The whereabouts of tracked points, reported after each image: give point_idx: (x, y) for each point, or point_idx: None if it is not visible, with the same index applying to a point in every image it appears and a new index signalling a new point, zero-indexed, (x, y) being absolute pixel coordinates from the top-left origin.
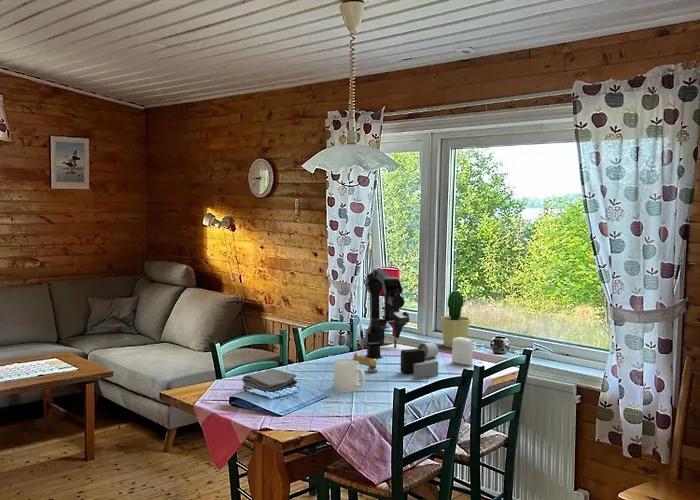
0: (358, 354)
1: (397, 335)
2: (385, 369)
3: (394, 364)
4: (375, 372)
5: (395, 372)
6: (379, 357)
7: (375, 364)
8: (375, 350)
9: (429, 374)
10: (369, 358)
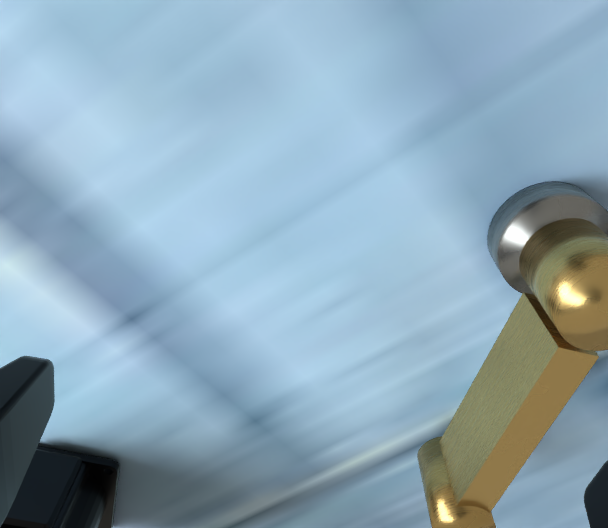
0: (470, 513)
1: (8, 442)
2: (361, 188)
3: (105, 236)
4: (573, 185)
5: (423, 4)
6: (39, 449)
7: (593, 236)
8: (56, 522)
9: None
10: (570, 362)
